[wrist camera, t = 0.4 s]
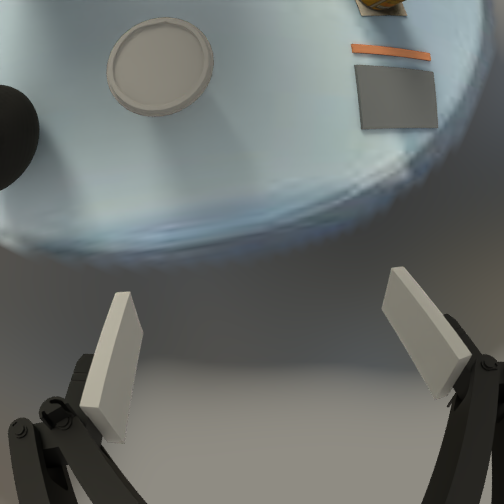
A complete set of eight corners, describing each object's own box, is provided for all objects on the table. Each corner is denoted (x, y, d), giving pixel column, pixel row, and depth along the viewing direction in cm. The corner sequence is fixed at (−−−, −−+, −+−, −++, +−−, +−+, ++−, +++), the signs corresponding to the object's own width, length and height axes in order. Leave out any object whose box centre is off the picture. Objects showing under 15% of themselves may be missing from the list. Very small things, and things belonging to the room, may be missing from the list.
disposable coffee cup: (219, 57, 33) (231, 30, 22) (191, 128, 36) (190, 129, 25) (146, 36, 30) (128, 3, 19) (118, 107, 33) (87, 101, 22)
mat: (354, 65, 36) (356, 64, 35) (430, 72, 37) (433, 71, 37) (361, 129, 39) (363, 129, 39) (435, 127, 41) (438, 128, 40)
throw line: (351, 44, 34) (352, 43, 34) (428, 53, 36) (429, 53, 36) (352, 52, 35) (353, 52, 35) (429, 60, 37) (431, 60, 36)
